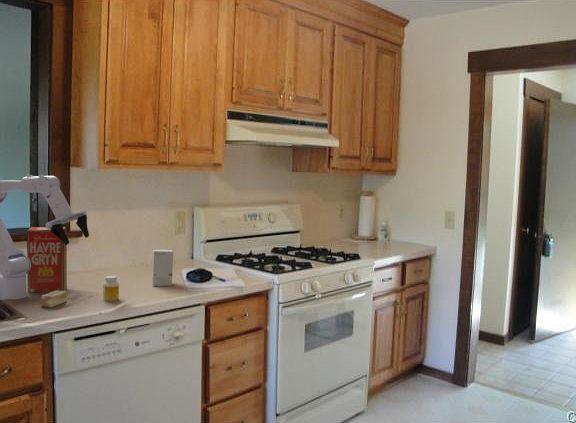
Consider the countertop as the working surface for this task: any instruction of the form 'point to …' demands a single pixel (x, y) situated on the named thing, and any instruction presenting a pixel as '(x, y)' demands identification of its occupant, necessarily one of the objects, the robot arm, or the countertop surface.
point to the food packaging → (46, 260)
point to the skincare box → (162, 267)
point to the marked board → (68, 300)
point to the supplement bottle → (110, 289)
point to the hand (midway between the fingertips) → (77, 240)
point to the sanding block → (54, 299)
